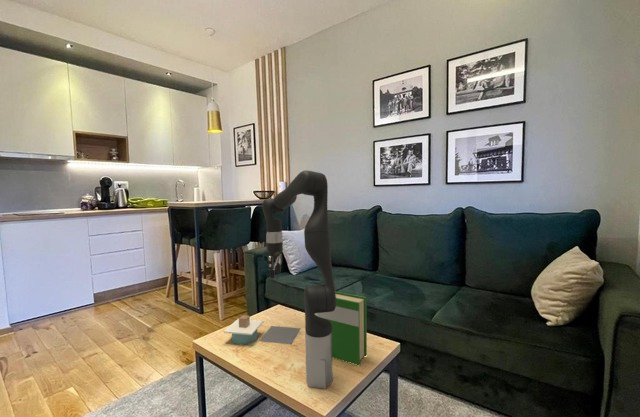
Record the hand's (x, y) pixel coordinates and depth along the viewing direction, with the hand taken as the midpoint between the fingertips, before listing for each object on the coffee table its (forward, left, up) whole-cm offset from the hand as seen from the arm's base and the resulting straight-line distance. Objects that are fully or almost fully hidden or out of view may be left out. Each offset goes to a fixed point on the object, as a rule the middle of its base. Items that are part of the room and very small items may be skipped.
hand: (275, 275), depth 136 cm
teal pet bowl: (-9, +12, -27) cm, 31 cm away
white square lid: (-9, +12, -21) cm, 26 cm away
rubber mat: (-3, -3, -27) cm, 27 cm away
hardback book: (-14, -33, -27) cm, 45 cm away
